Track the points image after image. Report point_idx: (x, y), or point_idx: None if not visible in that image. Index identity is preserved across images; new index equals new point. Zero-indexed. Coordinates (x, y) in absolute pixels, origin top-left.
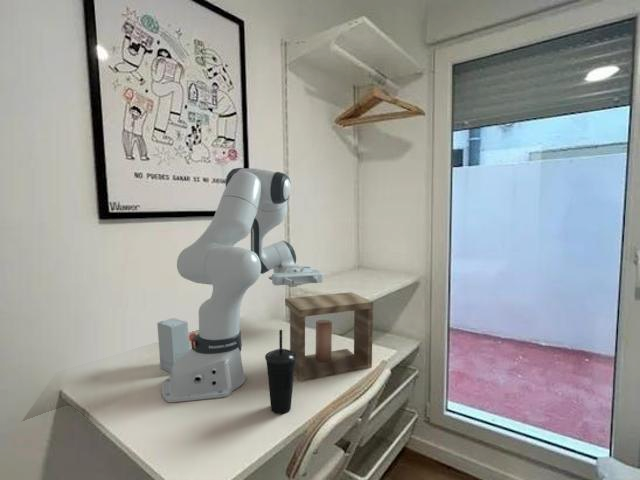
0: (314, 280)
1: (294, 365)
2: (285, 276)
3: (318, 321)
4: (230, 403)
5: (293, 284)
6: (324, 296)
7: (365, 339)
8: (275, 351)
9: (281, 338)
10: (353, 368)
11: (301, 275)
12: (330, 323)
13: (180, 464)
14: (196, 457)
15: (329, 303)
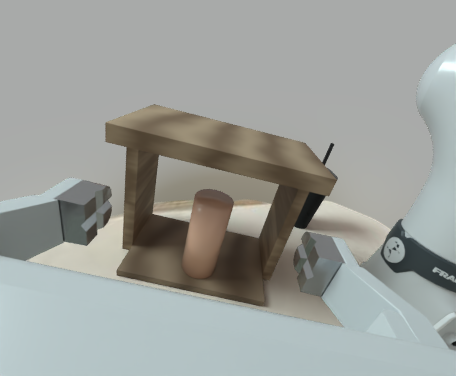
0: (108, 196)
1: None
2: (448, 350)
3: (223, 206)
4: (353, 253)
5: (297, 258)
6: (218, 144)
7: (153, 182)
8: (328, 169)
9: (327, 152)
10: (178, 220)
11: (159, 289)
12: (205, 190)
13: (367, 219)
14: (358, 218)
15: (238, 131)
